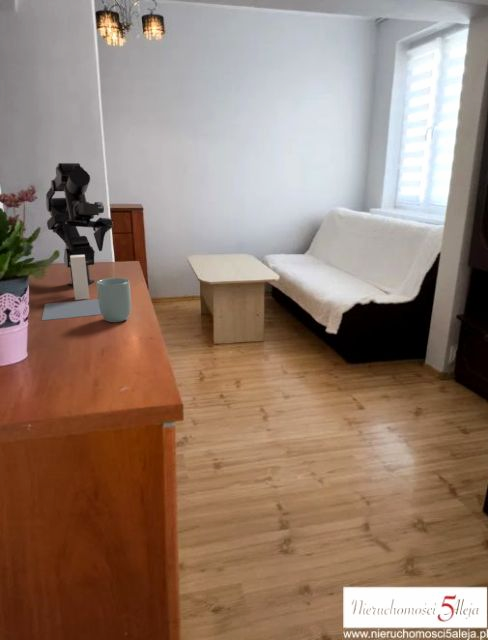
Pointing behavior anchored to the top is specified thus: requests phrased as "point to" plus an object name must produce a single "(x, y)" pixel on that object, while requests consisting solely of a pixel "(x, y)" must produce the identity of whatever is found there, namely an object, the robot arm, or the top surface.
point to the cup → (114, 299)
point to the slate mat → (71, 309)
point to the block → (79, 277)
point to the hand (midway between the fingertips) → (86, 250)
